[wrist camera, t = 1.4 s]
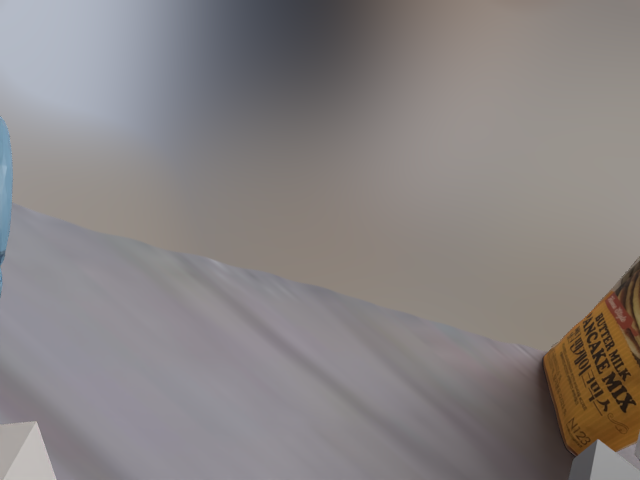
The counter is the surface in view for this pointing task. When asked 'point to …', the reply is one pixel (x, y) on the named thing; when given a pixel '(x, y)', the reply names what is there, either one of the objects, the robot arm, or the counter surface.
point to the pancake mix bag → (600, 371)
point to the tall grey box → (602, 465)
